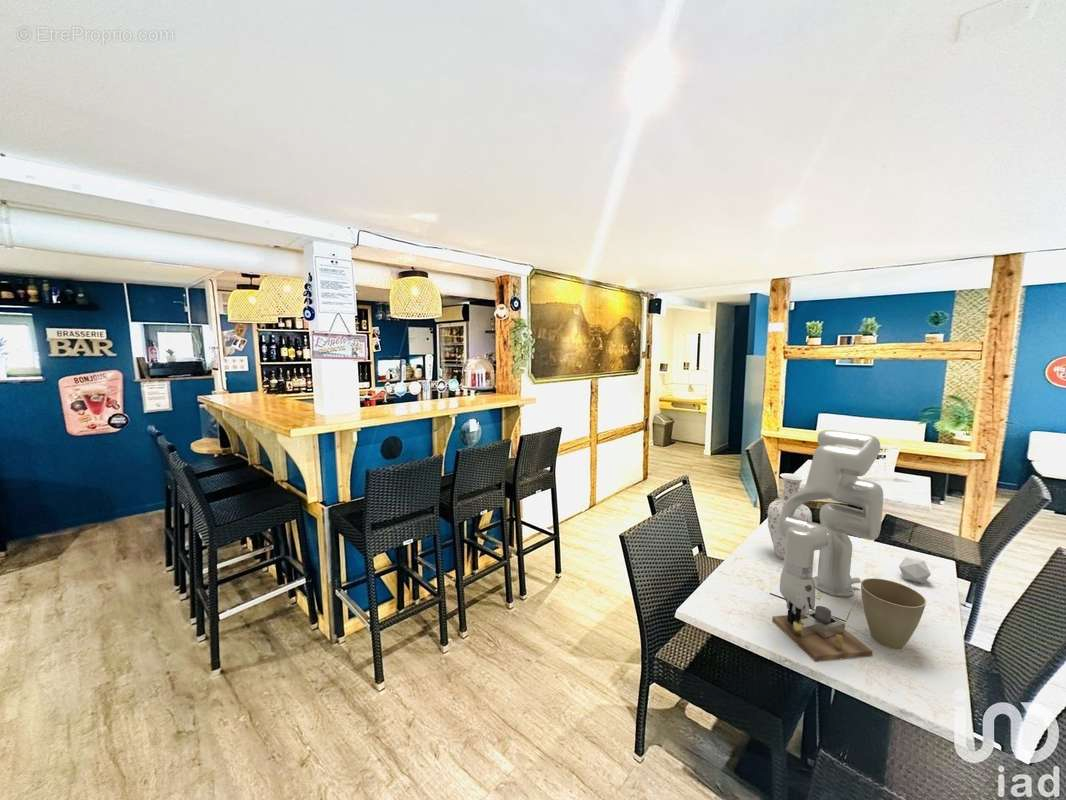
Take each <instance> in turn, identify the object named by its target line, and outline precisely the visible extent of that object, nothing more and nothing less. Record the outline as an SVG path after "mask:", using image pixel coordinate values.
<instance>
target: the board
mask: <svg viewBox="0 0 1066 800" xmlns="http://www.w3.org/2000/svg"><path fill="white" fill-rule="evenodd" d="M815 609H816V610H815ZM815 609H814V610H815V619H816V620H818V621H819V622H821V623H822V624H824V625H826V624H830V621H831V615H832V610H831V609H830V608H829V607H826V606H824V605H815ZM787 616H788V614H787V615H786V614H785V615H772V617H771V618H772V620H771V622H773V623H774V624H775V625H776V626H777V627H778V628H780V629H781V631H783V632H784V633H785V634H786V635H787V636H788V637H789V638H790V639H791V640H792V641H793V642H794V643H795V644H796V643H797V644H796V645H797V646H798V647H800V648H801V650H803V651H804V652H805V653H806V654H807V655H808V656H809V657H810V658H811V657H812V658H813V659H814V660H813V659H812V658H811V659H812V660H813V661H814V662H819V660H822V661H831V660H830V659H832V660H840V658H842V659H851V658H862V657H871V656H873V652H874V651H873V649H872V648H870V647H869V646H867V645H866V644H864V643H863V642H862V641H860V640H859V639H858V638H856V636H854V635H853V634H852V633H850V632H849V631H848V630H847V629H845V628H844V633H841V634H836V635H834V636H830V637H827V638H824V637H822V636H821V635H819V634H818V633H815V634H811V635H808V636H804V637H800V636H796V635H794V634H793V625H791V624H790V623H789V622H788V621H787ZM800 620H801V619H800Z"/></svg>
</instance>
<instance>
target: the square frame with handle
mask: <svg viewBox="0 0 1066 800" xmlns="http://www.w3.org/2000/svg"><path fill="white" fill-rule="evenodd" d="M815 610H816V608H814V609H811V610H809V613H810V614H809V615H804V614H802V613H801V620H795V621H794V622H793V634H794V635H796V636H800V637H804V636H808V635H811V634H815V633H818V634H819V635H821V636H822V637H824V638H827V637H830V636H834V635H836V634H841V633H844V629H845V626H846V623H845V622H843V620H840V619H839V618H837V617H835V616H833V615H832V614H831V621H830V624H826V625H824V624H822V623H821V622H819V621H818V620H816V619H815Z"/></svg>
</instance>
